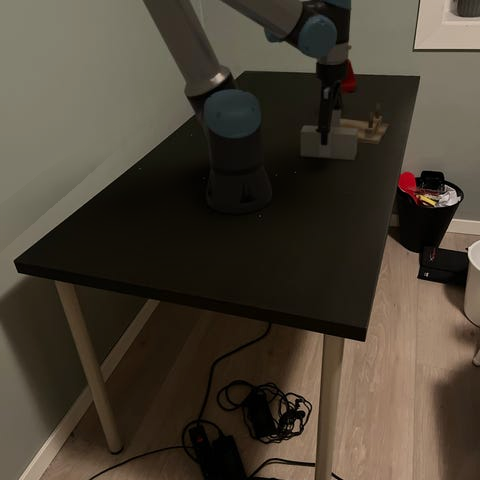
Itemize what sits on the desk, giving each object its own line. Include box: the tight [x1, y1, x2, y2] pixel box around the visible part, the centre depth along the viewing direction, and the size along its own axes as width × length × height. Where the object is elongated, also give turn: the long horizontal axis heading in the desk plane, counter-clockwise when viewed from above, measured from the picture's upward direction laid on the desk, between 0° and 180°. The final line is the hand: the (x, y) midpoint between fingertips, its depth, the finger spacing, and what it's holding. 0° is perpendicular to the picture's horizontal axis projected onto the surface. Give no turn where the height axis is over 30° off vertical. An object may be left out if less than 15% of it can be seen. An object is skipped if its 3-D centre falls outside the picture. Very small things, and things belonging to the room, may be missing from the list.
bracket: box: [341, 57, 357, 94], centre depth 163 cm, size 9×6×10 cm
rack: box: [340, 102, 390, 145], centre depth 135 cm, size 12×18×8 cm, turn 63°
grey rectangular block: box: [300, 125, 358, 161], centre depth 124 cm, size 4×14×7 cm, turn 71°
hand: (329, 144), depth 124 cm, fingers open, 13 cm apart
